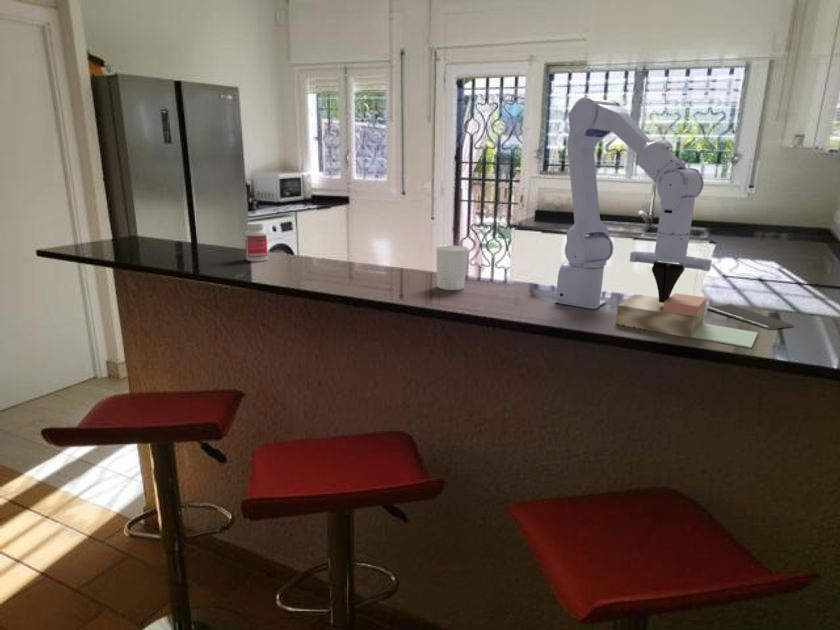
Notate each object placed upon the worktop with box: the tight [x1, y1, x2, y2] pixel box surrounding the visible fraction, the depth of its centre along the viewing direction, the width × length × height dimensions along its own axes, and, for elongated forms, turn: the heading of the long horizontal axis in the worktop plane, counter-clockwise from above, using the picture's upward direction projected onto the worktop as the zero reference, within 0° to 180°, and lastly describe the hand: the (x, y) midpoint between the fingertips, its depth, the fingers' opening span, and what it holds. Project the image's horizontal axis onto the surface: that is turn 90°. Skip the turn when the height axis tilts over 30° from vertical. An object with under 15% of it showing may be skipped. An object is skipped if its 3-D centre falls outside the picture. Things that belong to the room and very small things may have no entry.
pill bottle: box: [244, 222, 268, 263], centre depth 171 cm, size 6×6×11 cm
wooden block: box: [615, 294, 706, 339], centre depth 115 cm, size 14×12×4 cm
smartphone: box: [706, 304, 794, 330], centre depth 122 cm, size 7×1×16 cm
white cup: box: [435, 245, 469, 291], centre depth 142 cm, size 8×8×10 cm
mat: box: [691, 322, 759, 349], centre depth 109 cm, size 10×11×1 cm
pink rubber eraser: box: [663, 292, 708, 317], centre depth 111 cm, size 6×9×2 cm, turn 144°
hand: (663, 301), depth 113 cm, fingers closed
